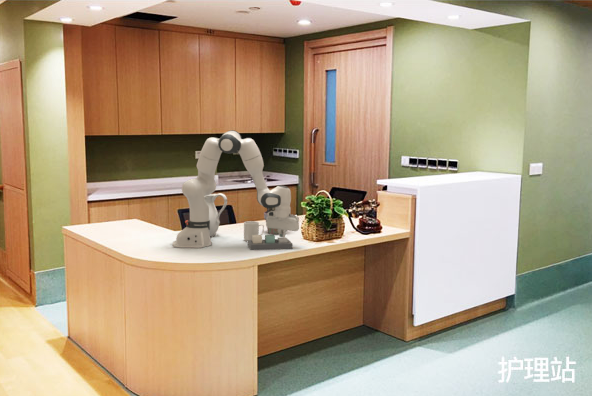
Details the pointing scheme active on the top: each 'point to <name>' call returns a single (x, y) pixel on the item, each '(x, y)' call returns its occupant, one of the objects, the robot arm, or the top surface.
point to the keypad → (269, 245)
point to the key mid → (269, 238)
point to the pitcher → (214, 211)
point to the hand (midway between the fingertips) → (282, 237)
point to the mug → (251, 229)
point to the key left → (256, 238)
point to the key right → (282, 240)
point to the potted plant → (271, 230)
